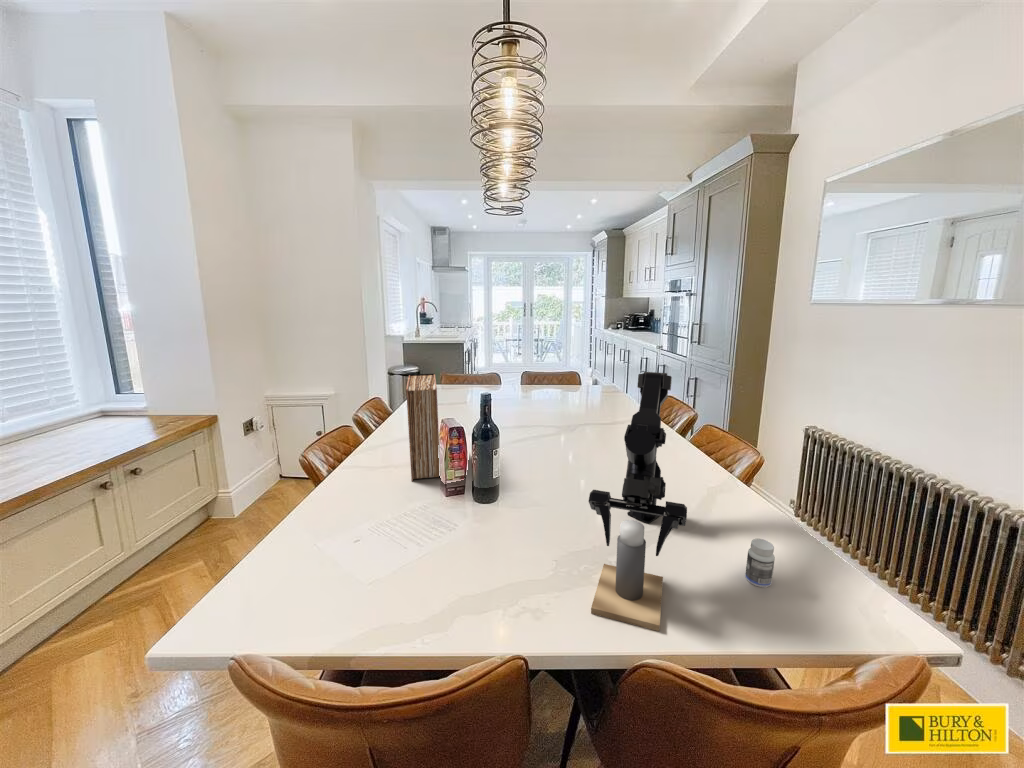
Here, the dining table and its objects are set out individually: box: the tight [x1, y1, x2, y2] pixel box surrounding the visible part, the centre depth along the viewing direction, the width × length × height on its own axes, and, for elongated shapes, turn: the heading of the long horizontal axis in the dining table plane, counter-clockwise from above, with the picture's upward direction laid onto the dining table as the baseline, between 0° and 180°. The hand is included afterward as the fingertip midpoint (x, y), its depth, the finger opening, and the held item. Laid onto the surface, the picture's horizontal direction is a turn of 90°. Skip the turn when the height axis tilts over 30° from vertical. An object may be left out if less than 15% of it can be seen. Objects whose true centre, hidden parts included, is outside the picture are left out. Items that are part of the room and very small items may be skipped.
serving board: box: [590, 563, 664, 632], centre depth 83 cm, size 14×12×1 cm
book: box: [405, 373, 440, 482], centre depth 145 cm, size 25×9×30 cm, turn 11°
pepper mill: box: [615, 519, 647, 601], centre depth 81 cm, size 5×5×14 cm
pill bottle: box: [744, 538, 776, 588], centre depth 87 cm, size 5×5×8 cm
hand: (631, 550), depth 82 cm, fingers open, 9 cm apart
